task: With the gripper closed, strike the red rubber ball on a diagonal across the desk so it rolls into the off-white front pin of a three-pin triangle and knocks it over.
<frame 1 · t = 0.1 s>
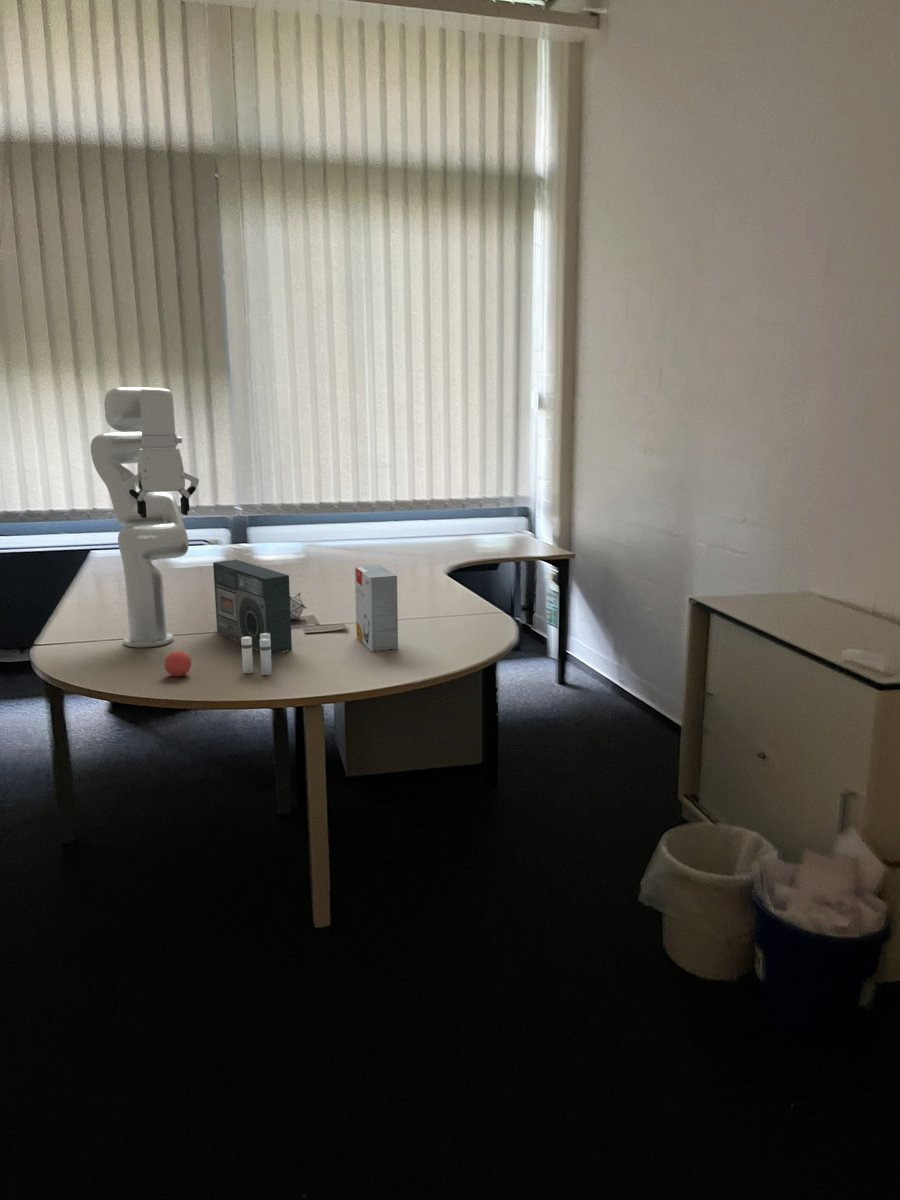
hand: (164, 515, 211), 37 cm above the table, tool pointing down, fingers open, 9 cm apart
hard drive box: (376, 644, 238), on the table
back right pin: (266, 674, 212), on the table
front pin: (248, 672, 213), on the table
cassette player: (253, 642, 240), on the table
game die: (291, 620, 263), on the table
back left pin: (266, 668, 216), on the table
ball: (177, 663, 210), on the table
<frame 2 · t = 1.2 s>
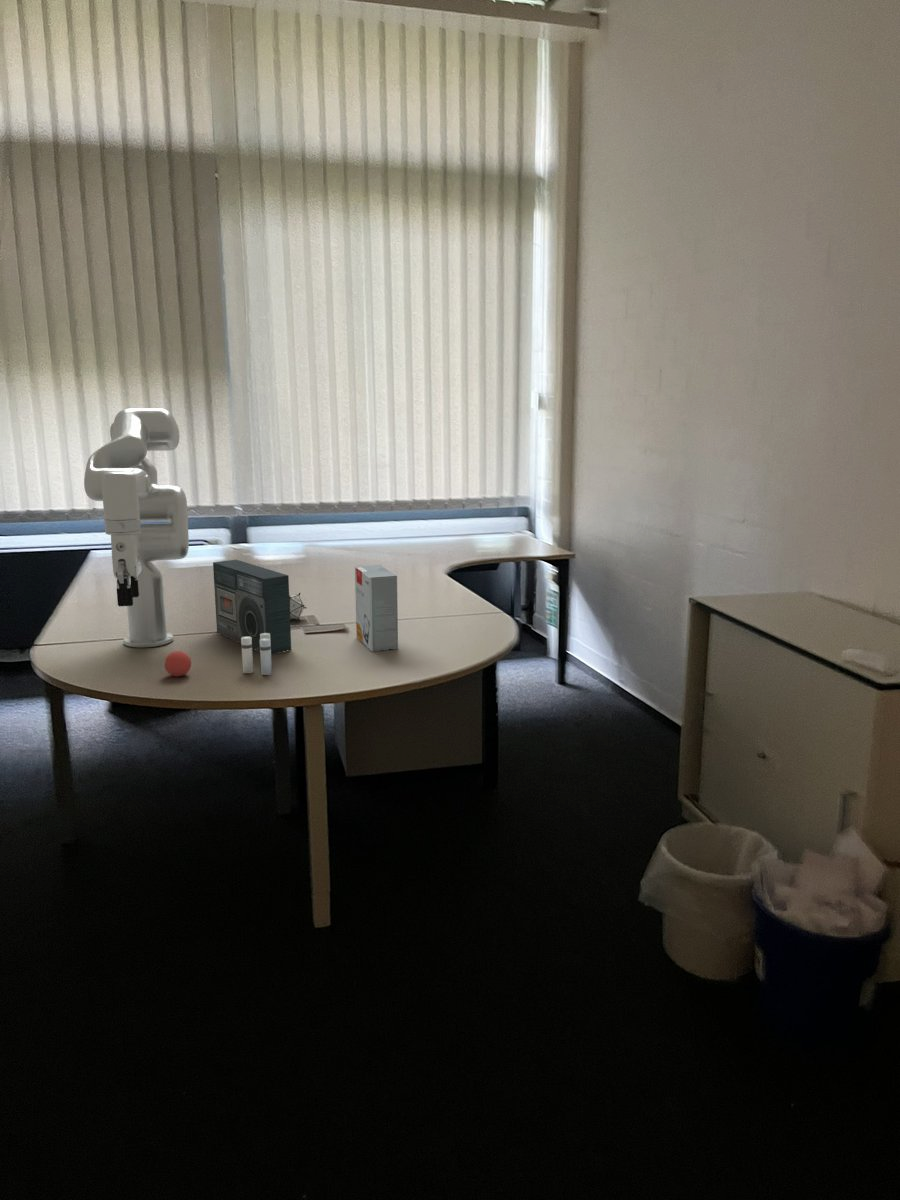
hand: (128, 601, 204), 18 cm above the table, tool pointing down, fingers open, 8 cm apart
nothing on the table moved.
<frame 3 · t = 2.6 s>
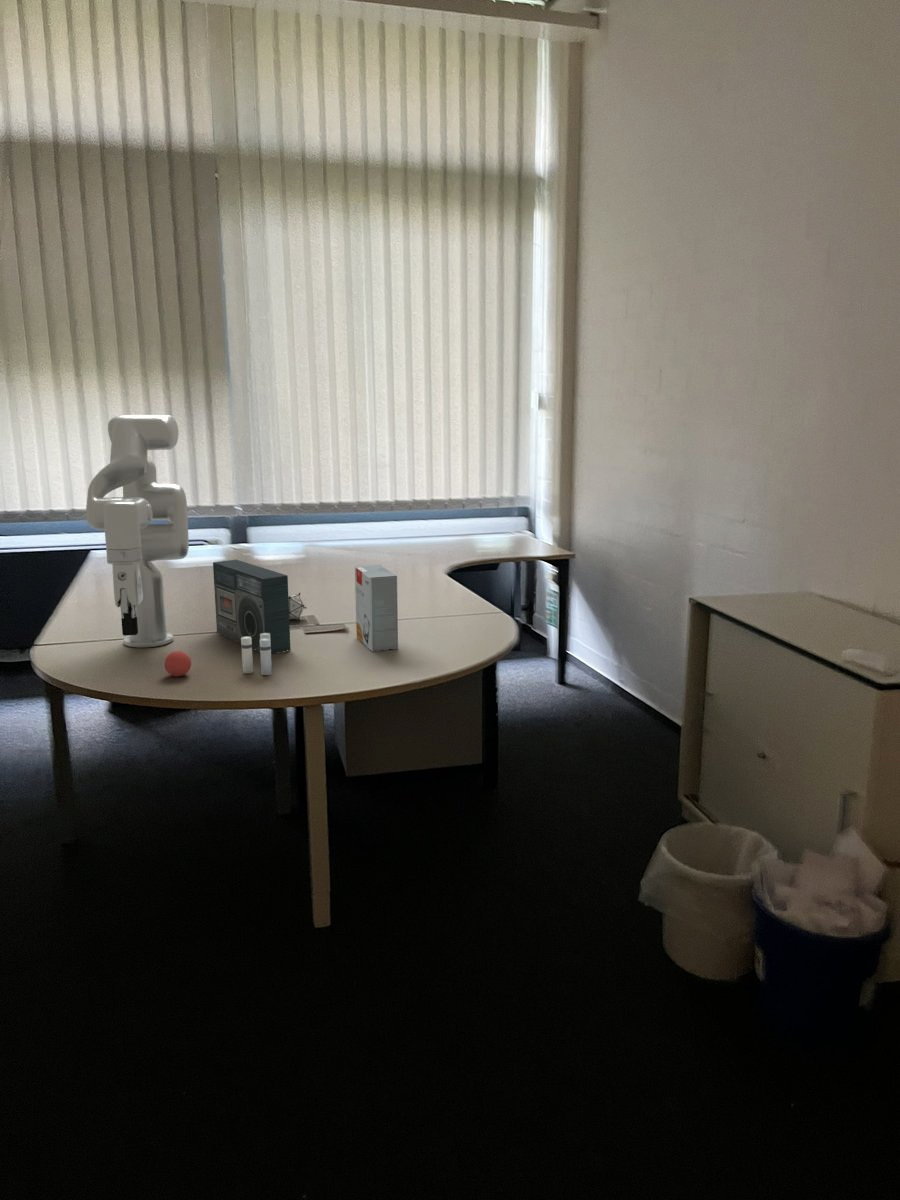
hand: (130, 634, 205), 11 cm above the table, tool pointing down, fingers closed
nothing on the table moved.
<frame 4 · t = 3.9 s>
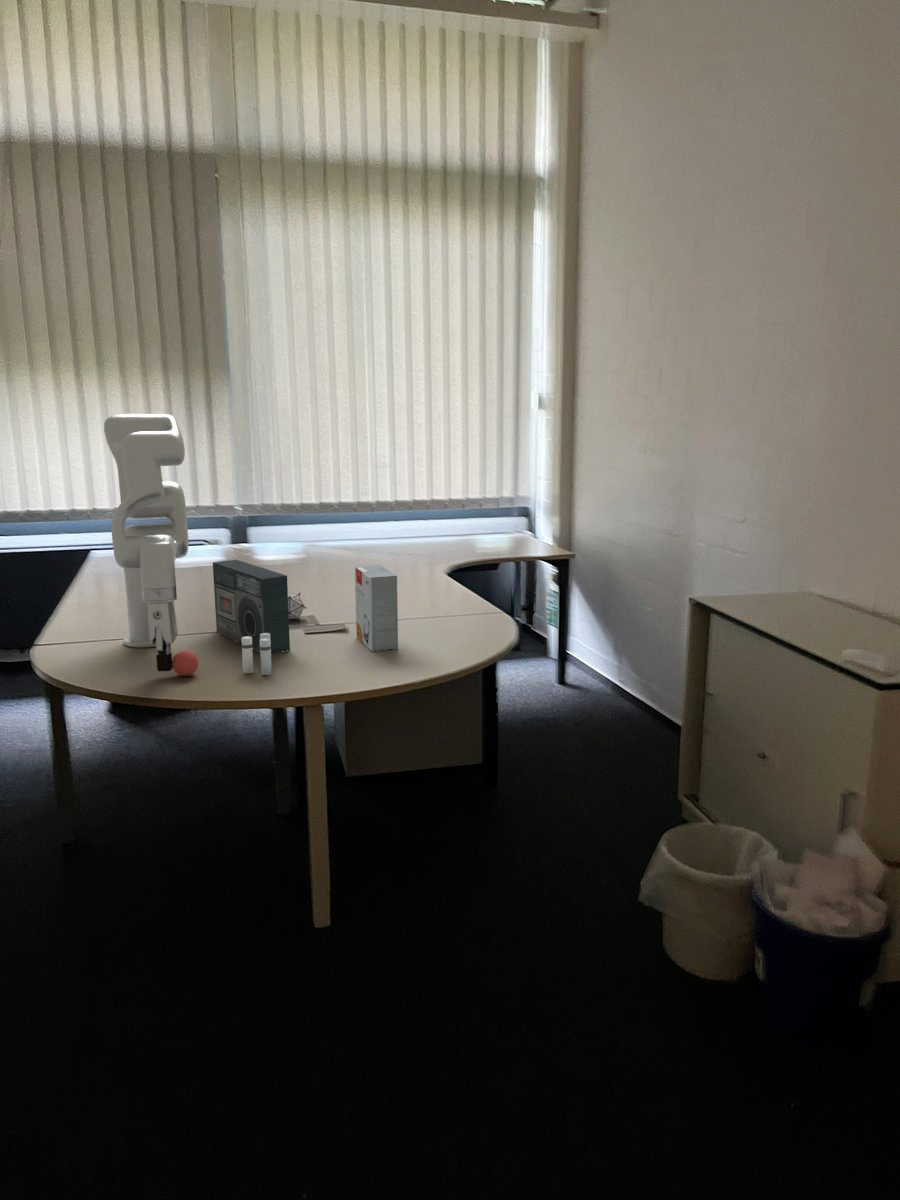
hand: (165, 669, 209), 2 cm above the table, tool pointing down, fingers closed
ball: (185, 663, 210), on the table
everything else where it was.
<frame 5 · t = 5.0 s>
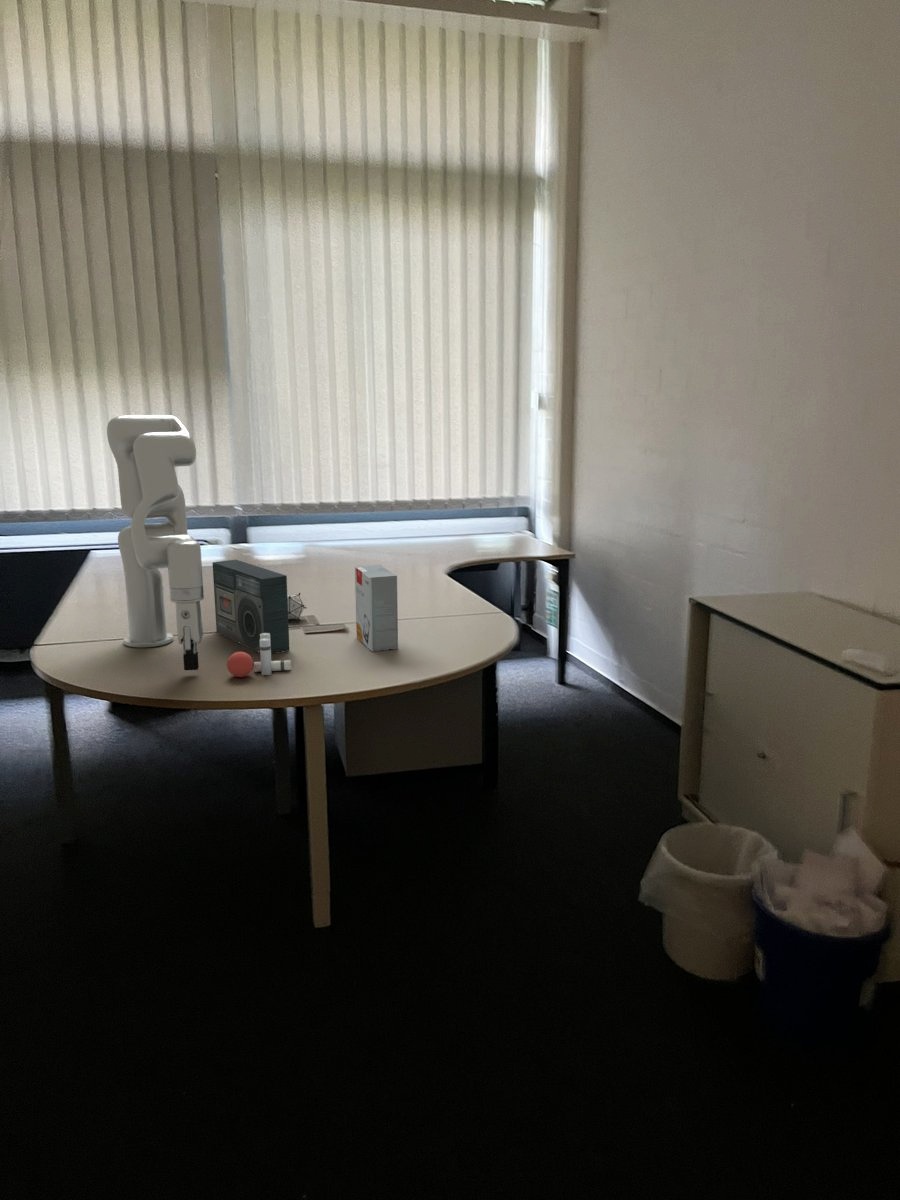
hand: (191, 669, 210), 2 cm above the table, tool pointing down, fingers closed
front pin: (254, 666, 213), point 1 cm above the table, tilted 90°
ball: (240, 664, 209), on the table
everything else where it was.
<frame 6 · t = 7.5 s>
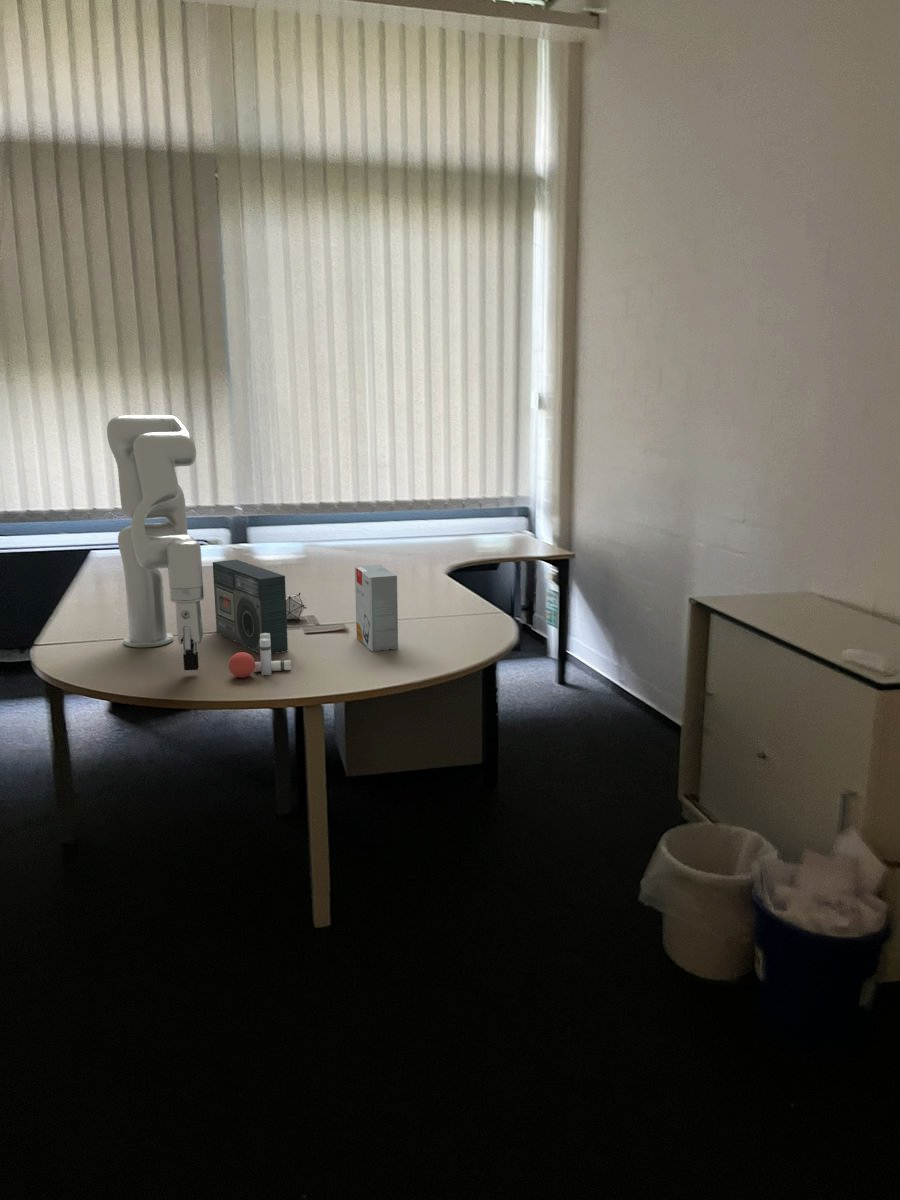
hand: (191, 669, 210), 2 cm above the table, tool pointing down, fingers closed
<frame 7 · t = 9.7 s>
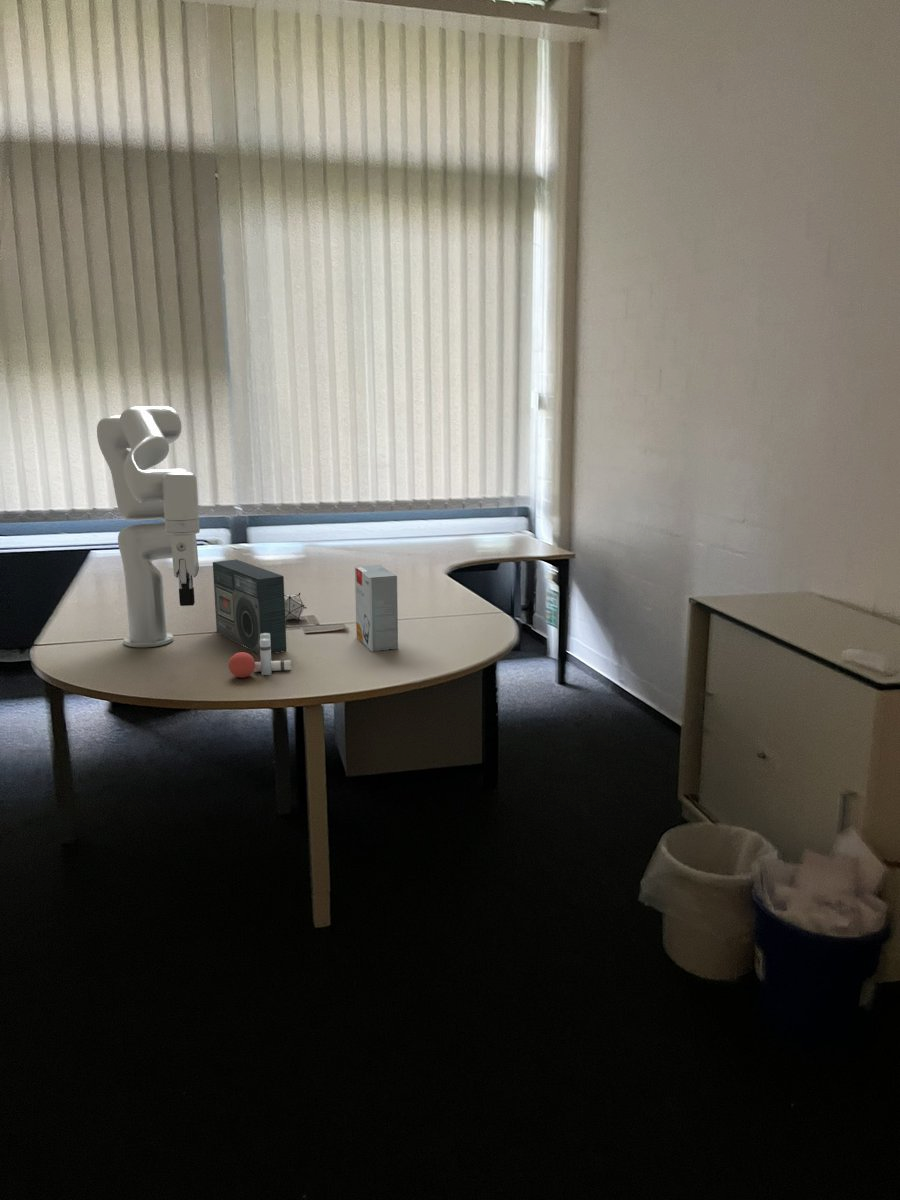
hand: (187, 604, 207), 17 cm above the table, tool pointing down, fingers closed
nothing on the table moved.
at the end: front pin tilted 90°; front pin never touched the robot; ball moved 15.3 cm from its start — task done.
